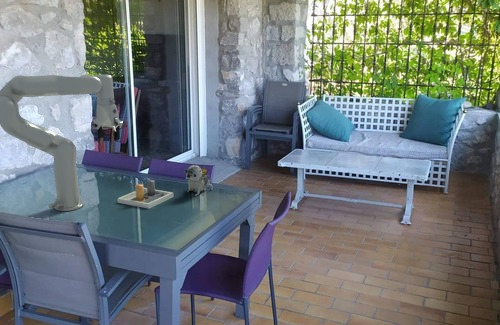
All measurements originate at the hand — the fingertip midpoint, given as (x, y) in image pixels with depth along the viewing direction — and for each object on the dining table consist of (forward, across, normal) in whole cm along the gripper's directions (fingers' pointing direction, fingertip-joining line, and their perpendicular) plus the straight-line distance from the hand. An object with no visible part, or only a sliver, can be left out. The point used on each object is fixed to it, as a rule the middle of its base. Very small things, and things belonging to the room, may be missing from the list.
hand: (109, 138), depth 227 cm
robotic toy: (+29, -34, -22) cm, 50 cm away
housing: (+28, -19, -1) cm, 34 cm away
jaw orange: (+27, -19, +3) cm, 33 cm away
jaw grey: (+27, -19, -5) cm, 34 cm away
